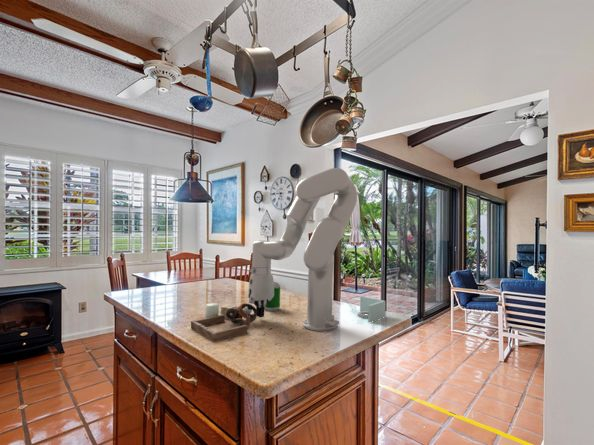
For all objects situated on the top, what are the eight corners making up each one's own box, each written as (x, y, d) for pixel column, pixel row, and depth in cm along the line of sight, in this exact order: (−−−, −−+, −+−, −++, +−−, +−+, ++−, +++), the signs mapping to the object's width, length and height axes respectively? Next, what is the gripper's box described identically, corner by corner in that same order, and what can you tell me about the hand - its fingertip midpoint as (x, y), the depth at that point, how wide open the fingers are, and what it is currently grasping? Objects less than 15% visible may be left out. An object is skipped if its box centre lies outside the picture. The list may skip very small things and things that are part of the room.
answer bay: (247, 332, 109) (247, 325, 109) (213, 341, 100) (213, 333, 100) (223, 320, 121) (223, 314, 121) (190, 327, 112) (191, 320, 112)
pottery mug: (247, 318, 127) (255, 302, 125) (253, 335, 119) (262, 318, 117) (220, 314, 120) (228, 298, 118) (224, 332, 113) (233, 314, 111)
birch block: (236, 316, 127) (236, 306, 128) (228, 319, 124) (228, 308, 124) (228, 315, 130) (228, 304, 130) (220, 317, 126) (220, 306, 126)
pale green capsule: (220, 320, 123) (220, 305, 123) (209, 322, 119) (209, 307, 119) (214, 317, 126) (214, 302, 126) (203, 319, 123) (203, 304, 123)
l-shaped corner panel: (361, 312, 139) (361, 296, 139) (385, 318, 131) (385, 300, 131) (345, 318, 130) (345, 300, 131) (370, 324, 122) (370, 305, 122)
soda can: (279, 311, 136) (279, 284, 136) (262, 311, 136) (262, 284, 136) (280, 307, 143) (280, 281, 143) (264, 307, 143) (265, 281, 144)
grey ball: (253, 314, 131) (253, 306, 131) (246, 316, 128) (246, 307, 128) (248, 312, 133) (248, 304, 133) (241, 314, 131) (241, 305, 131)
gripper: (250, 273, 116) (249, 322, 116) (281, 270, 126) (280, 315, 126) (240, 271, 121) (239, 317, 121) (270, 268, 131) (269, 311, 131)
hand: (260, 316), depth 123 cm, fingers closed
